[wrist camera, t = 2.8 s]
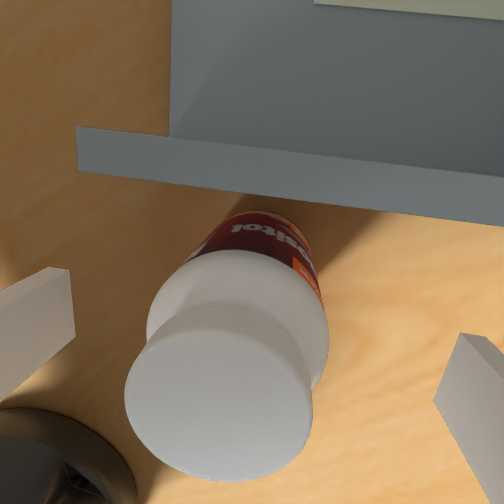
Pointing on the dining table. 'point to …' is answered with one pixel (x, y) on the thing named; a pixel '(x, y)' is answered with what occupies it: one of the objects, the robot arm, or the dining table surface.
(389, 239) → the dining table surface
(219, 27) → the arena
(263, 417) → the pill bottle
